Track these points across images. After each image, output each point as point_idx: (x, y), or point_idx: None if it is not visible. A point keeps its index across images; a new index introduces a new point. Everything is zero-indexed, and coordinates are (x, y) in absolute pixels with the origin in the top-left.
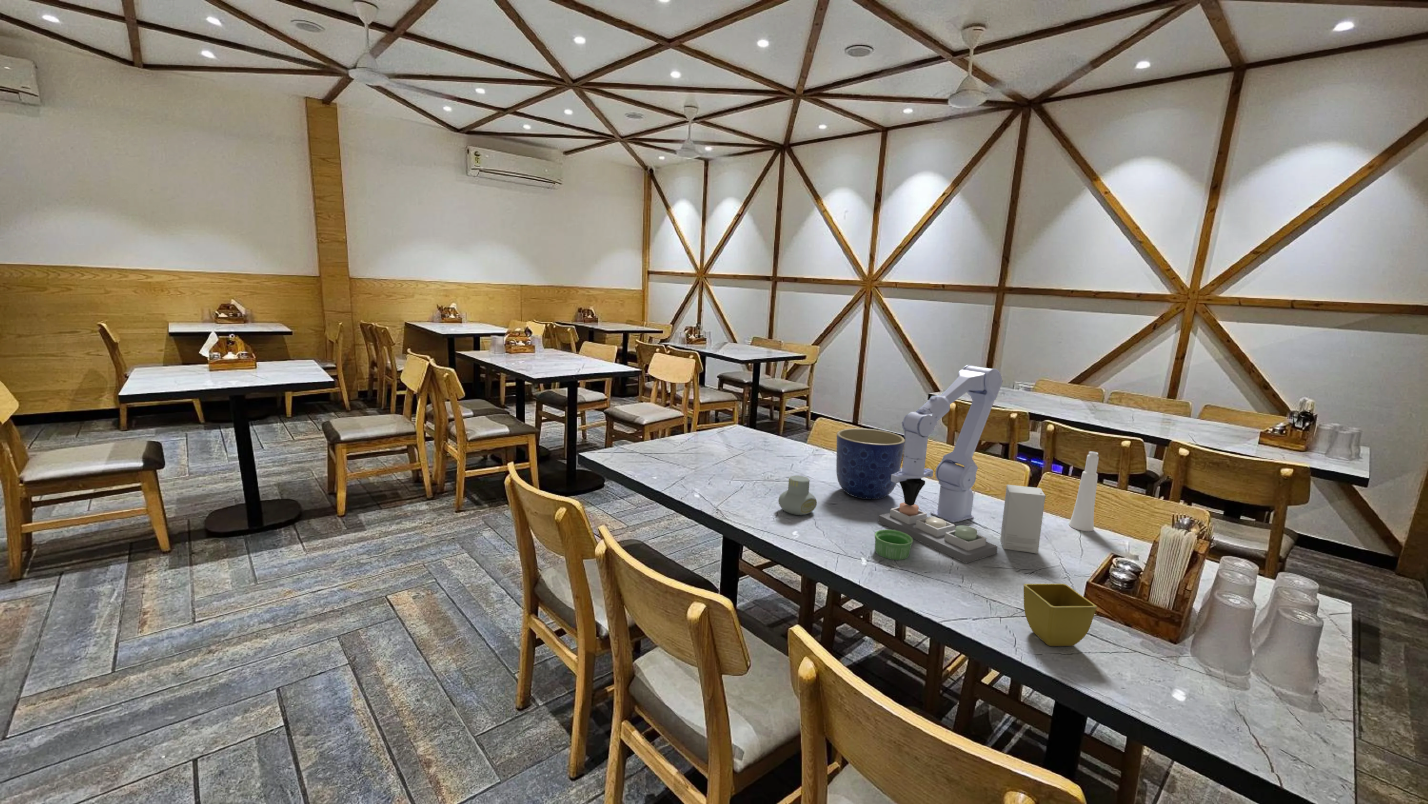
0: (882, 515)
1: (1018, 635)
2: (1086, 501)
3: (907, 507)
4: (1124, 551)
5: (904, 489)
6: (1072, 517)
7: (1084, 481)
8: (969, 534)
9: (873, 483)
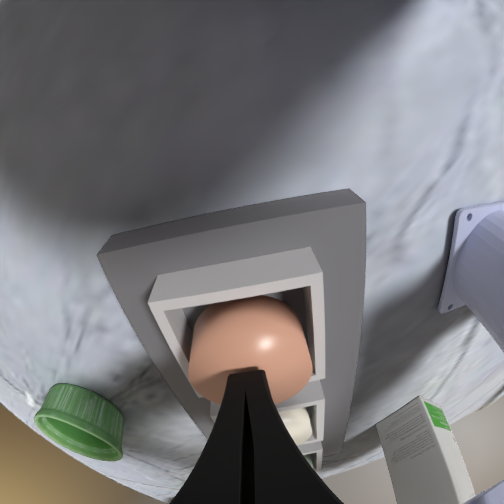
0: (116, 262)
1: (173, 494)
2: None
3: (216, 393)
4: (494, 400)
5: (211, 472)
6: None
7: None
8: None
9: None
